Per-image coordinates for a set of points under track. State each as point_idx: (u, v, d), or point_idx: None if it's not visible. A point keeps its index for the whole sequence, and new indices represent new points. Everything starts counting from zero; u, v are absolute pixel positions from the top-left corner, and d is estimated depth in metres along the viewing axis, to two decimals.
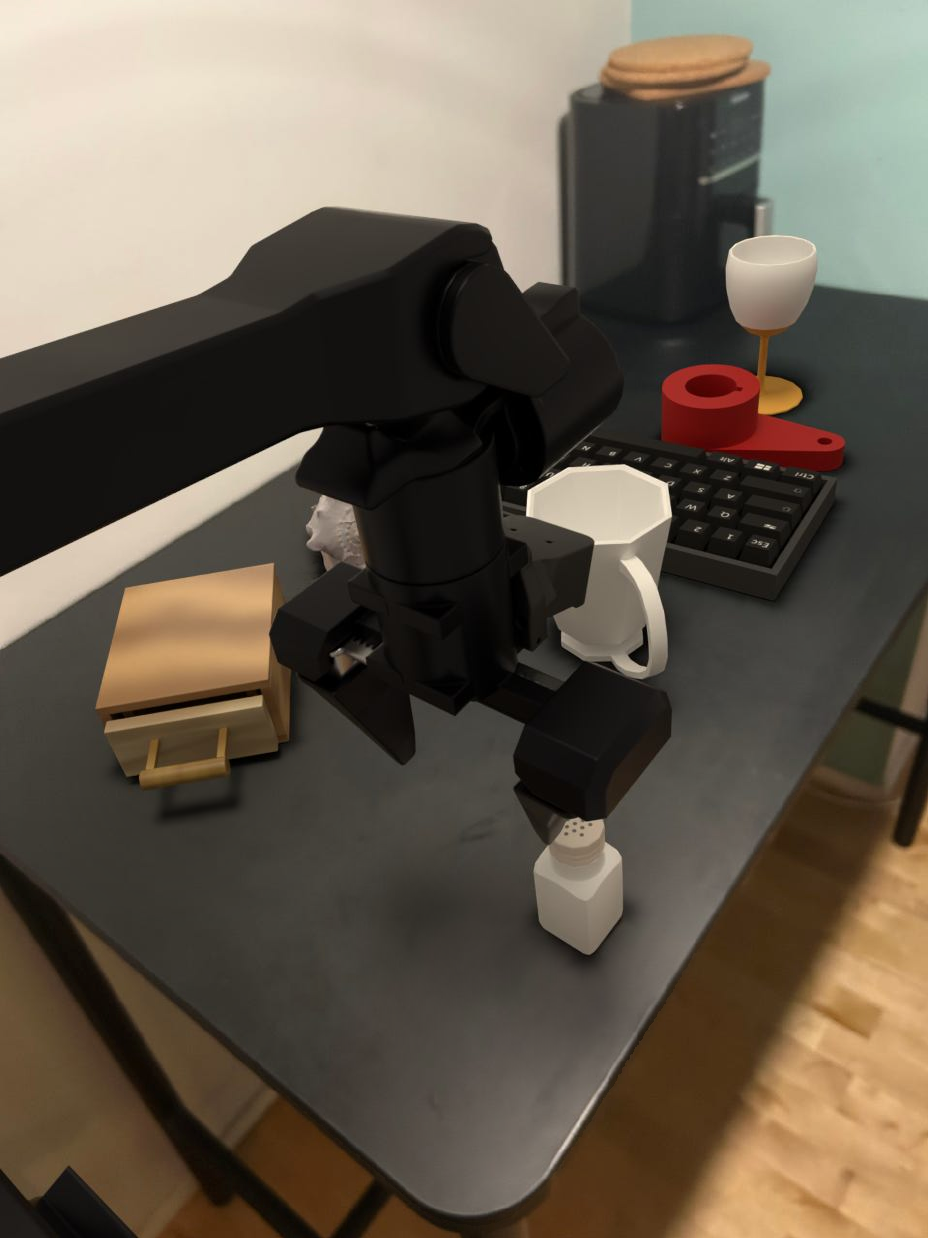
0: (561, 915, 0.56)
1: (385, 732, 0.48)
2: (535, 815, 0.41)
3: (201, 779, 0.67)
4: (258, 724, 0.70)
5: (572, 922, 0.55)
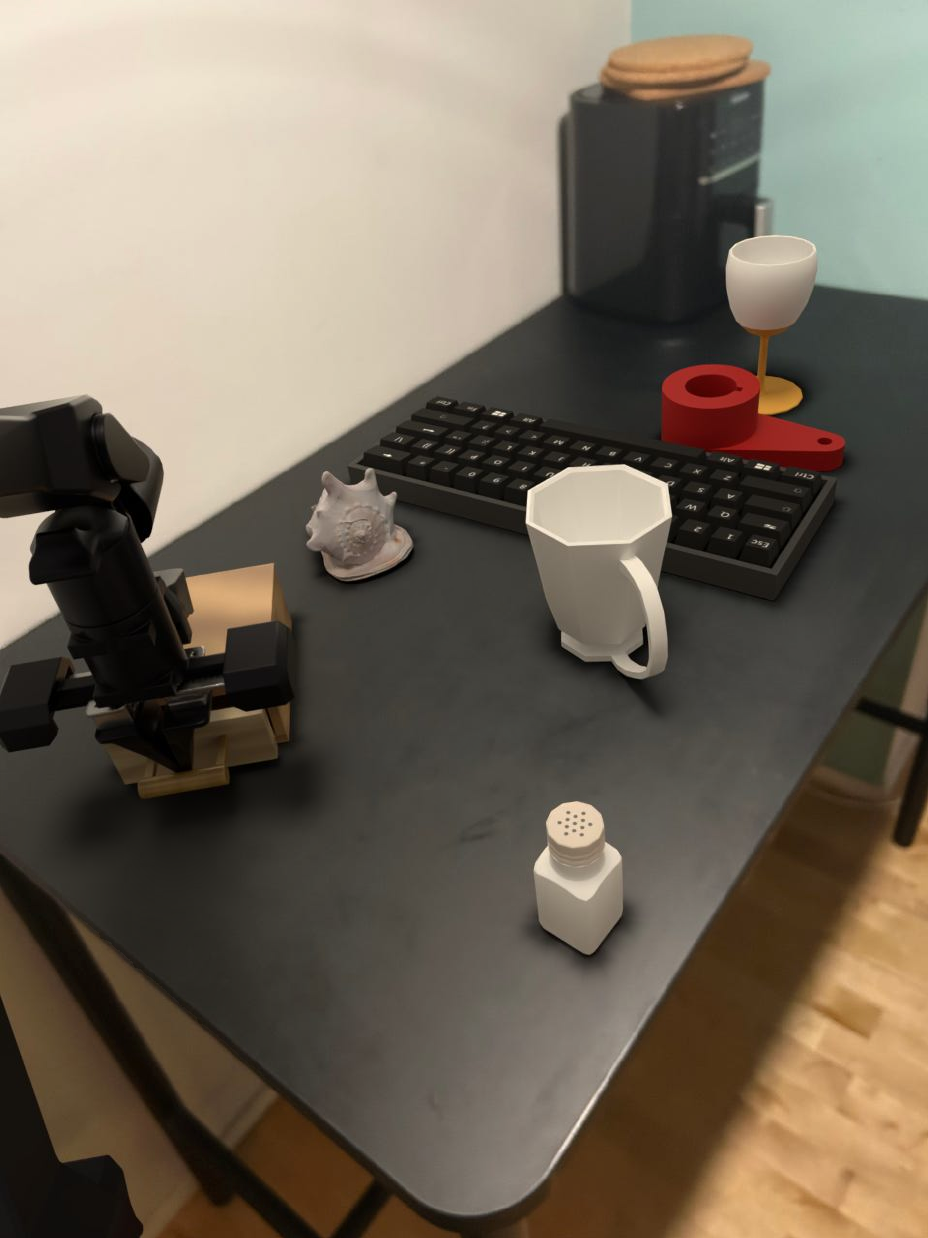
0: (561, 915, 0.56)
1: (170, 752, 0.65)
2: (180, 745, 0.63)
3: (200, 787, 0.66)
4: (258, 731, 0.69)
5: (572, 922, 0.55)
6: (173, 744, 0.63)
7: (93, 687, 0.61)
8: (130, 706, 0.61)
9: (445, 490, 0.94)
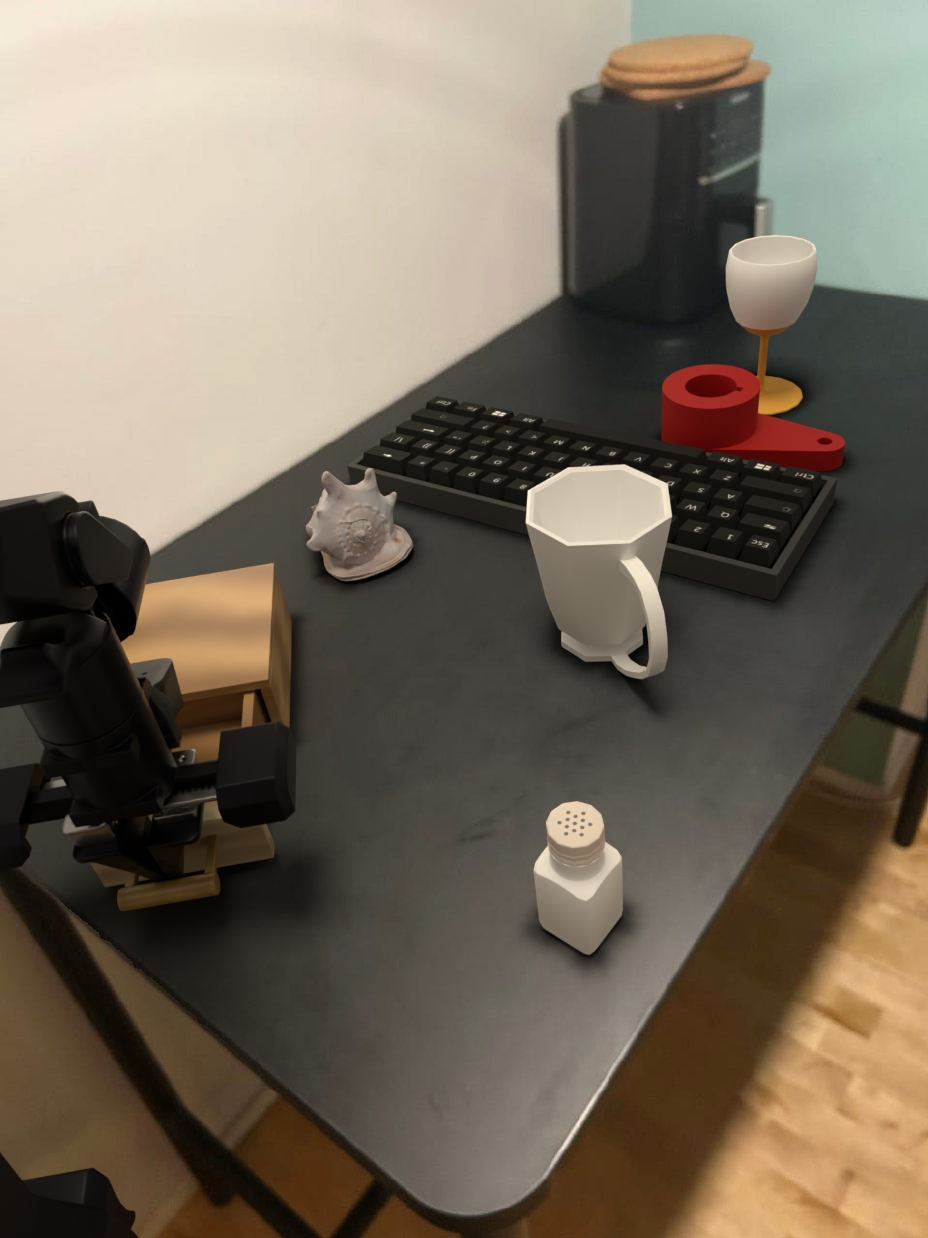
0: (561, 915, 0.56)
1: (157, 864, 0.59)
2: (168, 860, 0.57)
3: (187, 899, 0.59)
4: (252, 831, 0.62)
5: (572, 922, 0.55)
6: (160, 860, 0.56)
7: (71, 800, 0.55)
8: (112, 820, 0.55)
9: (445, 490, 0.94)
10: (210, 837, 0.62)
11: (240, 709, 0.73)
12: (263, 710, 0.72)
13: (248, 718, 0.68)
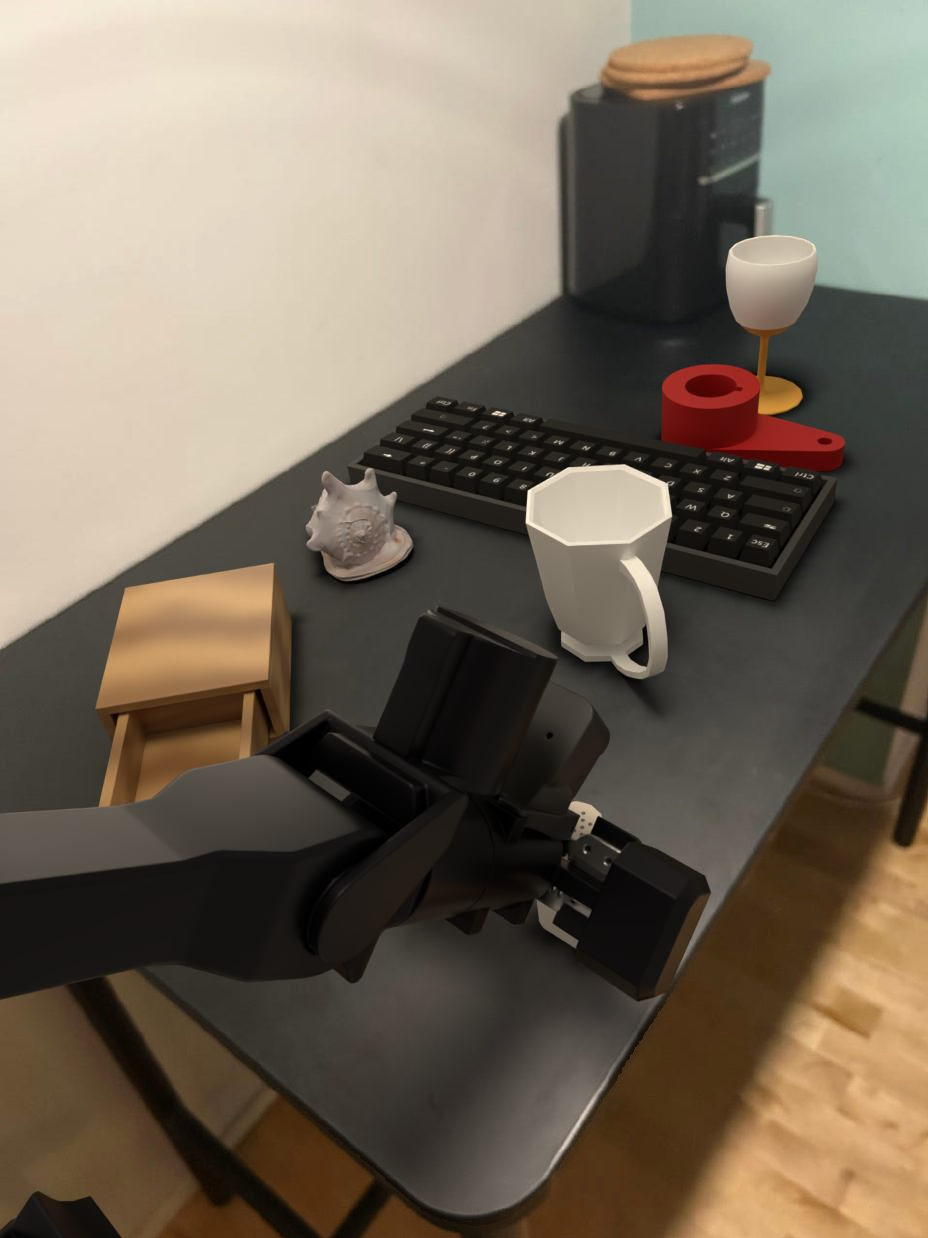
0: None
1: None
2: None
3: None
4: None
5: None
6: None
7: None
8: None
9: (445, 490, 0.94)
10: None
11: (240, 709, 0.73)
12: (263, 710, 0.72)
13: (248, 718, 0.68)
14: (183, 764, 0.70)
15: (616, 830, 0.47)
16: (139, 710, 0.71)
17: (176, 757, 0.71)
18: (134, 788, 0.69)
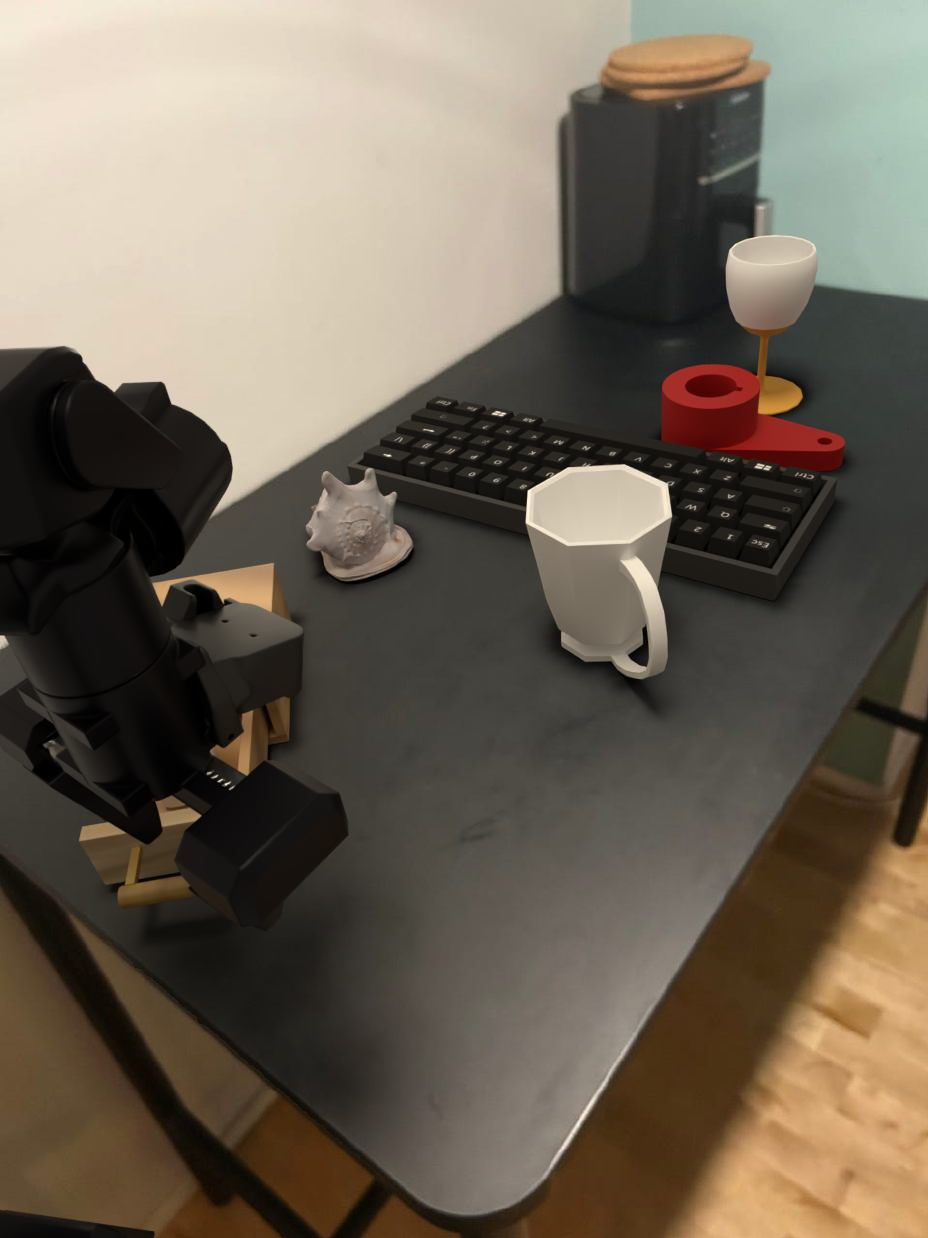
0: None
1: (119, 815, 0.49)
2: None
3: (187, 897, 0.59)
4: None
5: None
6: None
7: None
8: None
9: (445, 490, 0.94)
10: None
11: None
12: (263, 708, 0.73)
13: (248, 716, 0.68)
14: None
15: None
16: None
17: None
18: None
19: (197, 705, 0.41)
